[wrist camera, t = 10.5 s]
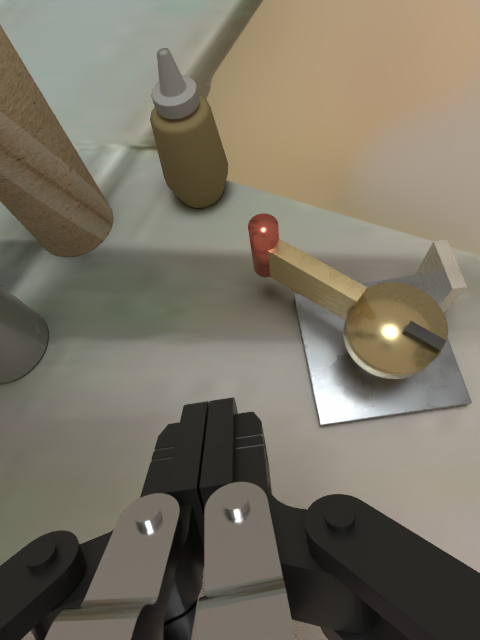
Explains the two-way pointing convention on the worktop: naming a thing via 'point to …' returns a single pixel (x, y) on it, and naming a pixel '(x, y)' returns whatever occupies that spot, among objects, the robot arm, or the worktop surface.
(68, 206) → the tube
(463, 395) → the stand
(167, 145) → the squeeze bottle
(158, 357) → the worktop surface
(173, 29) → the worktop surface
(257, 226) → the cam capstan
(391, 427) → the worktop surface
